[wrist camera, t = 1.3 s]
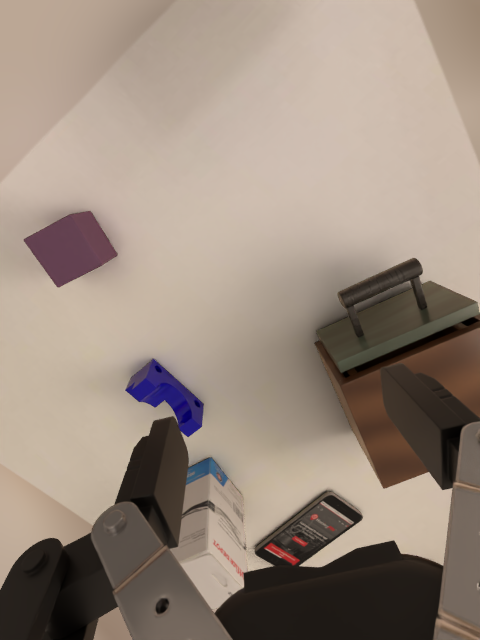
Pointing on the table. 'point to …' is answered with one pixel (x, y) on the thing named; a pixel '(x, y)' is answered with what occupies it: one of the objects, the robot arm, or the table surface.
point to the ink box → (212, 534)
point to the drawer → (393, 319)
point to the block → (71, 247)
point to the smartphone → (309, 531)
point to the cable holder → (167, 395)
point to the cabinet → (368, 408)
